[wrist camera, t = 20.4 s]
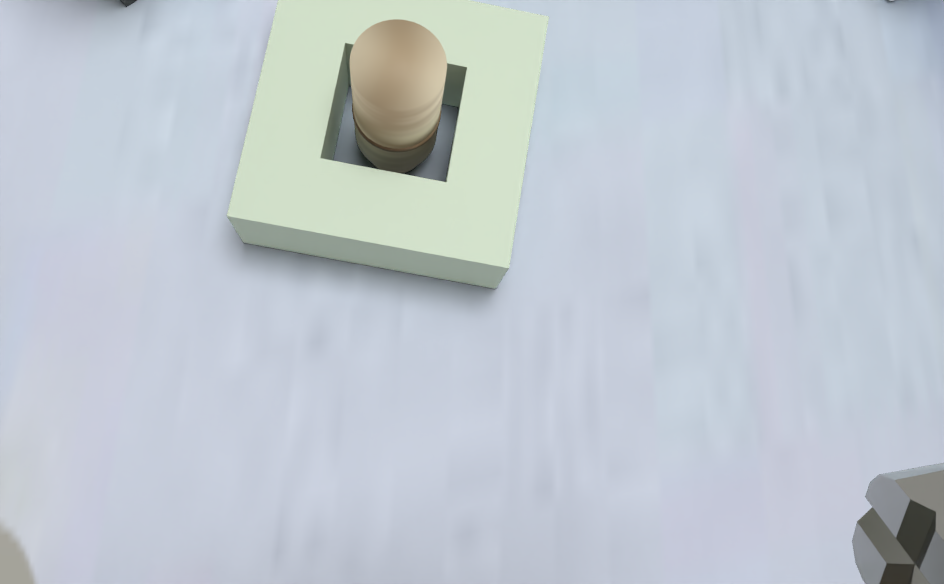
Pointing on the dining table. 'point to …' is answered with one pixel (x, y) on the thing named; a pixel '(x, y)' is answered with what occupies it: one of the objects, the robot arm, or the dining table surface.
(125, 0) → the lantern
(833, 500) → the dining table surface
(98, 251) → the dining table surface
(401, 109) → the peg
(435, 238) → the hole block
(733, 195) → the dining table surface
